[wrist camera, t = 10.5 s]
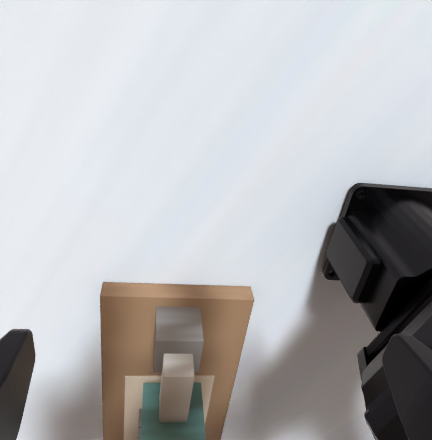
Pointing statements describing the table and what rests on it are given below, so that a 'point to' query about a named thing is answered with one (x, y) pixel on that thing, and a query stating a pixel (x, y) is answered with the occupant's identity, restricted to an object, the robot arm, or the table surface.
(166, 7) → the table surface
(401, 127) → the table surface
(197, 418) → the shaft coupling stand
